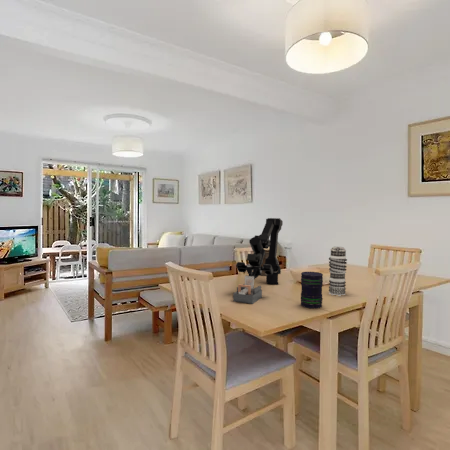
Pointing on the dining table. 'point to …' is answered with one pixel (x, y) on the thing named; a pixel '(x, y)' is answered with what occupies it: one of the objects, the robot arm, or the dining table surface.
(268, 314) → the dining table surface
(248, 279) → the tapered wooden notched block
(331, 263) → the decorative candle
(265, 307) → the dining table surface
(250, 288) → the lug
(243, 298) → the grey walled tray
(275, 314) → the dining table surface
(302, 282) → the storage jar
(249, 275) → the robot arm
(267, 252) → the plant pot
